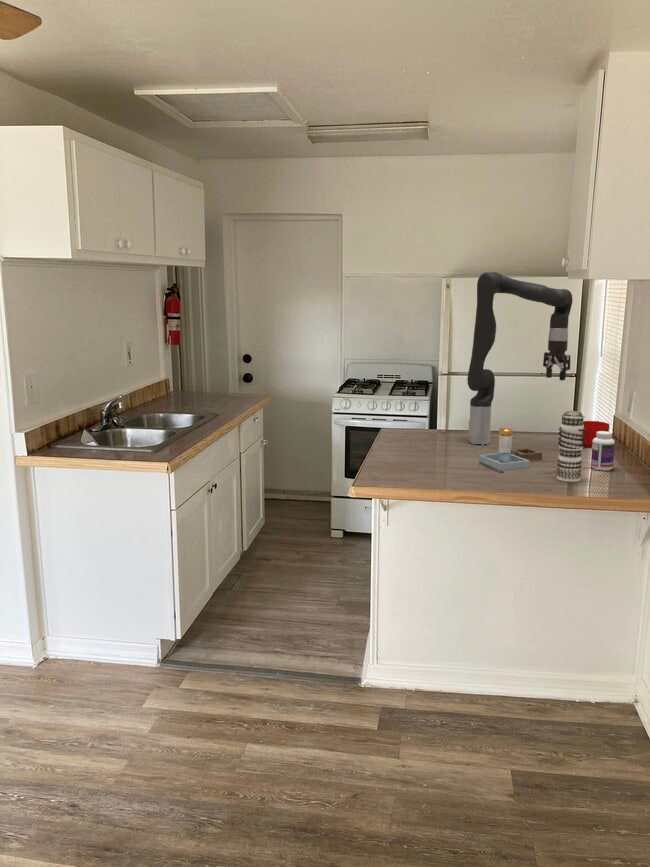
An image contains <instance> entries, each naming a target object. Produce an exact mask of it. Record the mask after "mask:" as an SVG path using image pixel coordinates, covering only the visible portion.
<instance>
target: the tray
mask: <svg viewBox="0 0 650 867" xmlns="http://www.w3.org/2000/svg"><path fill="white" fill-rule="evenodd" d="M481 464H482V465H481ZM479 465H481V466H483V465H484V467H486V468H488V469H489V470H493V471H495V472H497V473H499V474H503V472H504V471H510V470H517V469H519V470H520V469H528V468H530V467H531V466H530V465H531V461H528V460H526V459H523V458H521V457H518V456H515V455H513V454H511V462H509V463H500V462H498V453H489V454H479Z"/></svg>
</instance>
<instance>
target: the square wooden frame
mask: <svg viewBox="0 0 650 867" xmlns="http://www.w3.org/2000/svg"><path fill="white" fill-rule="evenodd" d="M511 454H513V455H515V456H518V457H521V458H523V459H526V460H528V461H530V462H536V461H537V462H538V461H542V460H543V452H541V451H538V450H535V449H532V448H530V447H525V448H524V447H523V448H515V449H511Z"/></svg>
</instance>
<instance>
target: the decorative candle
mask: <svg viewBox="0 0 650 867" xmlns="http://www.w3.org/2000/svg"><path fill="white" fill-rule="evenodd" d="M584 419H585V416H584V415H583V413H582V412H581V411H579V410H578V411H577V410H566V411H565V412H564V413H563V414H561V423H560V427H558V430H559V432H558V436H559V437H558V448H559V454H558V459H557V462H558V463H557V464H556V465H557V466H558V467H557V468H556V475H557V476H556V479H557V480H560V481H563V482H572V483H574V482H579V481H581V480H582V479H581V476H582V474H581V473H582V469H581V468H582V463H583V462H582V450H583V448H584V444H583V443H582V441H584V439H583V438H582V437H584V436H585V435H584V434H582V432H584V431H585V429H584V425H583V421H585V420H584Z"/></svg>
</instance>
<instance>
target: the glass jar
mask: <svg viewBox="0 0 650 867" xmlns="http://www.w3.org/2000/svg"><path fill="white" fill-rule="evenodd" d="M513 433H514V430H513V428H509V427H500V428H499V429H498V434H499V435H498V453H497V454H498V462H500V463H509V462H511V450H512V447H513V446H512V443H513V435H514V434H513Z"/></svg>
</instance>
